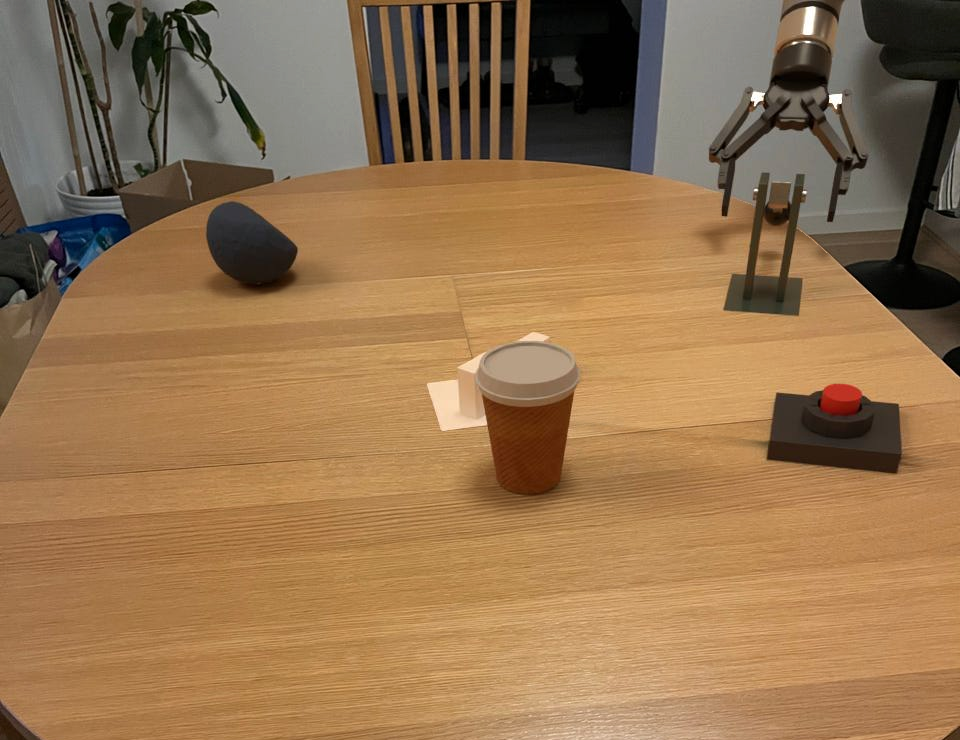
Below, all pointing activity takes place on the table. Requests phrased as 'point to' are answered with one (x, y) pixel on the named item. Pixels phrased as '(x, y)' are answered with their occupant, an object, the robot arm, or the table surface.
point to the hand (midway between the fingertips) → (777, 214)
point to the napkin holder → (464, 395)
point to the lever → (778, 204)
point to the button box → (835, 434)
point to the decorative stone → (248, 244)
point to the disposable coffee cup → (528, 411)
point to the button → (841, 399)
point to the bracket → (768, 290)
